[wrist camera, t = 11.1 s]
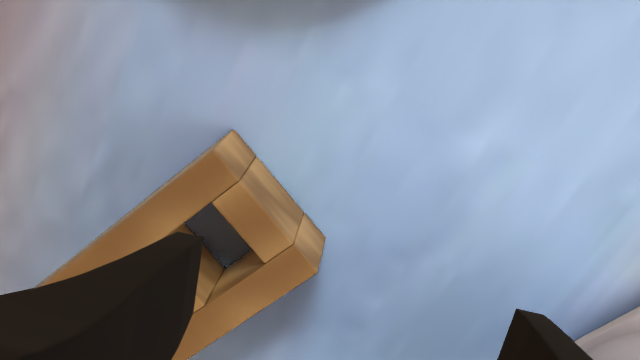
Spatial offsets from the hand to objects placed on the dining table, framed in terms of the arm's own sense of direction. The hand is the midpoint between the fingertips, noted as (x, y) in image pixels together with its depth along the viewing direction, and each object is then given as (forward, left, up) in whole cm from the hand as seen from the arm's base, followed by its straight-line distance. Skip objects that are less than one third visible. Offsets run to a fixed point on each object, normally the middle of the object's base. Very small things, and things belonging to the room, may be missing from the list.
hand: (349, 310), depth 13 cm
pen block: (+1, +10, -10) cm, 15 cm away
